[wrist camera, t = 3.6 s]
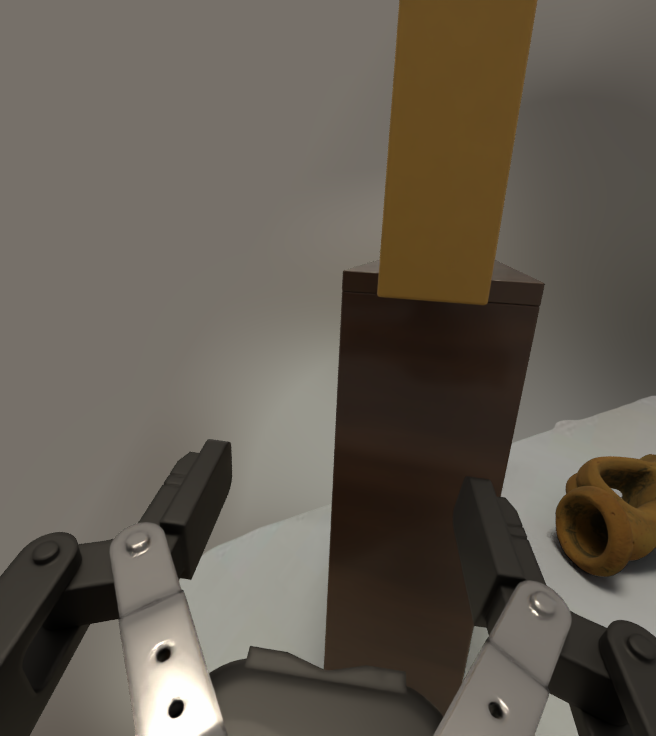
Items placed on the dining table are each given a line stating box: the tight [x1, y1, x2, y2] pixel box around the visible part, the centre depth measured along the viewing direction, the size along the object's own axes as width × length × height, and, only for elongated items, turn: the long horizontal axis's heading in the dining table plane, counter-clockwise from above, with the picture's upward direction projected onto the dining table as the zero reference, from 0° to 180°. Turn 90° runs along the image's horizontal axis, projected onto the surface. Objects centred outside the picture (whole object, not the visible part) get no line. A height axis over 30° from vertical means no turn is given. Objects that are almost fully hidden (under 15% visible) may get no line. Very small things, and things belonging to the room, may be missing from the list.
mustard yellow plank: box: [377, 0, 537, 305], centre depth 19 cm, size 20×3×8 cm, turn 164°
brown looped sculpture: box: [556, 454, 656, 577], centre depth 53 cm, size 18×13×22 cm
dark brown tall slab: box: [324, 260, 545, 716], centre depth 38 cm, size 30×9×36 cm, turn 164°
